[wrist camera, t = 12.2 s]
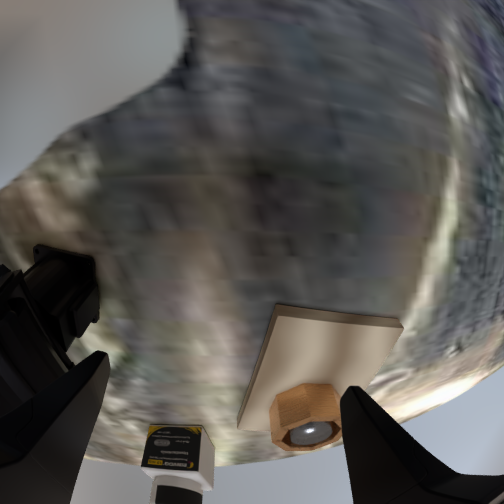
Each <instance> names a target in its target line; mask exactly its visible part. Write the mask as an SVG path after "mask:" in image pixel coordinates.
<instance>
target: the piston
mask: <svg viewBox="0 0 504 504" xmlns="http://www.w3.org/2000/svg"><path fill="white" fill-rule="evenodd" d="M289 431H290V438H291V441H292V442H293V443H295V444H299V445H309V444H314V443H318V442H320V441H323V440H325V439H326V438H328V437H329V436H330V435H331V434H332V427H331V423H330V421H311V422H309V423H306V424H303V425H301V426H298V427H295V428H293V429H290V430H289Z"/></svg>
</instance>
